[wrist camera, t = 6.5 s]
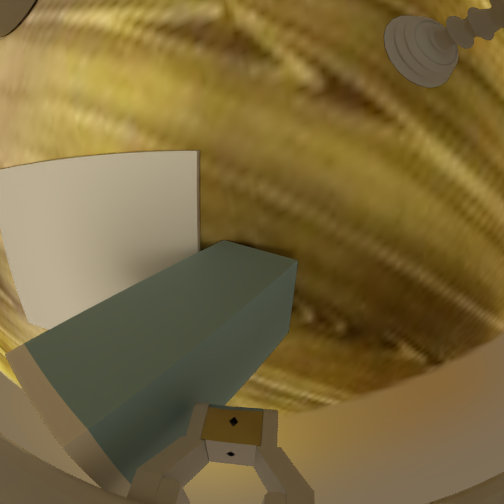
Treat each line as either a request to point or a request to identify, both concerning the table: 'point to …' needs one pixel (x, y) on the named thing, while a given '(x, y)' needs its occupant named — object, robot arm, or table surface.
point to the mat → (96, 226)
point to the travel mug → (12, 13)
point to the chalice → (437, 42)
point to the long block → (156, 356)
